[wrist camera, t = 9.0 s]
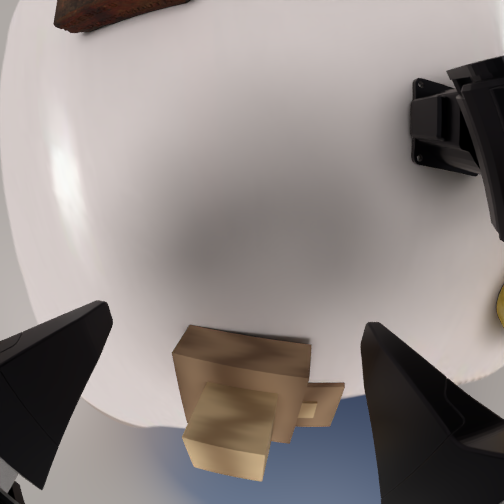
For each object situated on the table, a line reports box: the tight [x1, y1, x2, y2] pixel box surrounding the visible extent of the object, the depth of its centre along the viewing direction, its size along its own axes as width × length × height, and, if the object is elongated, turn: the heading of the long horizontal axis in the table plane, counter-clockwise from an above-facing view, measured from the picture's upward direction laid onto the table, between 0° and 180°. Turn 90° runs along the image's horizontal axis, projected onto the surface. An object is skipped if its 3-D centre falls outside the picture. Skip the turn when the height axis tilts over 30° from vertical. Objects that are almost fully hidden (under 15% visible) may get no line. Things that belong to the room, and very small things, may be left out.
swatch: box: [295, 383, 345, 427], centre depth 28 cm, size 8×8×1 cm
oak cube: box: [182, 382, 278, 481], centre depth 20 cm, size 6×6×6 cm
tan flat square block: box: [172, 325, 311, 443], centre depth 24 cm, size 11×11×4 cm
